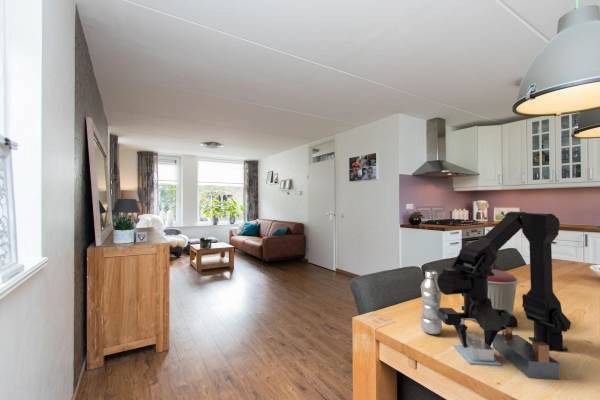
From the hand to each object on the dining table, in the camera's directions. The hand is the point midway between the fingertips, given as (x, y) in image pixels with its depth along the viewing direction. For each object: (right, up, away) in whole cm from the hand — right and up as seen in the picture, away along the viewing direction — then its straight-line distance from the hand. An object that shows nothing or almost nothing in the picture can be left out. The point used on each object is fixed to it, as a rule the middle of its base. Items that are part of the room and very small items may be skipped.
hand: (475, 347), depth 76 cm
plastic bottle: (-6, -3, +14) cm, 15 cm away
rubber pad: (0, -2, 0) cm, 2 cm away
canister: (+19, -3, +23) cm, 29 cm away
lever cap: (0, -2, 0) cm, 2 cm away
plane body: (+11, -2, -3) cm, 11 cm away
